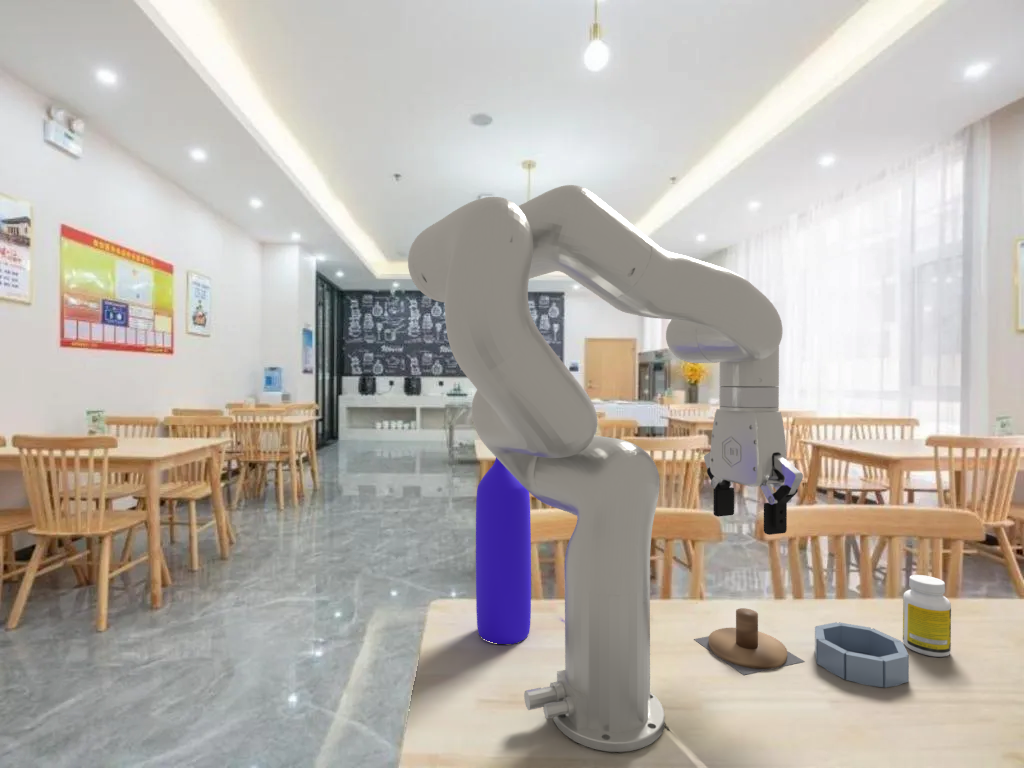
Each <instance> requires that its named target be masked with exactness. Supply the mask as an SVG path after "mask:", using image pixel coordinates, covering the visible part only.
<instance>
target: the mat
mask: <svg viewBox="0 0 1024 768" xmlns="http://www.w3.org/2000/svg"><path fill="white" fill-rule="evenodd" d="M693 640H694V641H695V642H696V643H698V644H700V645H701V646H702V647H704V648H705V649H706V650H707V651H709V652H710V653H711V654H713V655H715V654H714V653H713V652H712V651H711V649H710V647H709V635H707V636H702V637H697V638H694V639H693ZM715 656H716V657H717V658H719V659H720V660H722V662H724V663H726V664H728V666H730V667H732V668H733V669H734V670H735V671H737V672H738V673H740V674H741V675H743V676H747V675H751V674H756V673H760V672H765V671H769V670H774V669H777V668H779V669H780V668H783V667H788V666H793V665H796V664H801V663H805V660H803V659H802V658H800V657H798V656H797V655H795V654H793V653H791V652H789V651H788V650H787V661H786V663H785V664H783V665H782V666H780V667H776V668H772V669H754V668H747V667H743V666H739V665H735V664H733V663H730V662H727V661H725V660H723V659H721V658H720V657H718V656H717V655H715Z"/></svg>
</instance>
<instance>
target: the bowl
mask: <svg viewBox="0 0 1024 768" xmlns="http://www.w3.org/2000/svg"><path fill="white" fill-rule="evenodd" d="M814 654H815V662H816V664H817V665H819V666H820V667H822V668H823V669H825V670H827V672H829V673H831V674H833V675H835V676H837V677H839V678H841V679H843V680H846V681H850V682H853V683H856V684H860V685H865V686H870V687H876V688H877V687H879V688H885V689H886V688H891V687H897V686H900V685H902V684H905V683H908V682H909V680H910V678H909V677H910V674H909V673H910V672H909V669H910V667H909V663H910V662H909V660H910V659H909V657H910V656H909V653H908V651H907V649H906V645H905V644H904V643H903V641H901V640H899V639H898V638H897V637H896V638H895V637H894V636H891V635H888V634H887V633H884V632H882V631H880V630H878V629H876V628H871V627H869V626H864V625H858V624H851V623H845V622H841V621H840V622H837V621H835V622H830V623H825V624H819V625H815V626H814Z"/></svg>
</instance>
